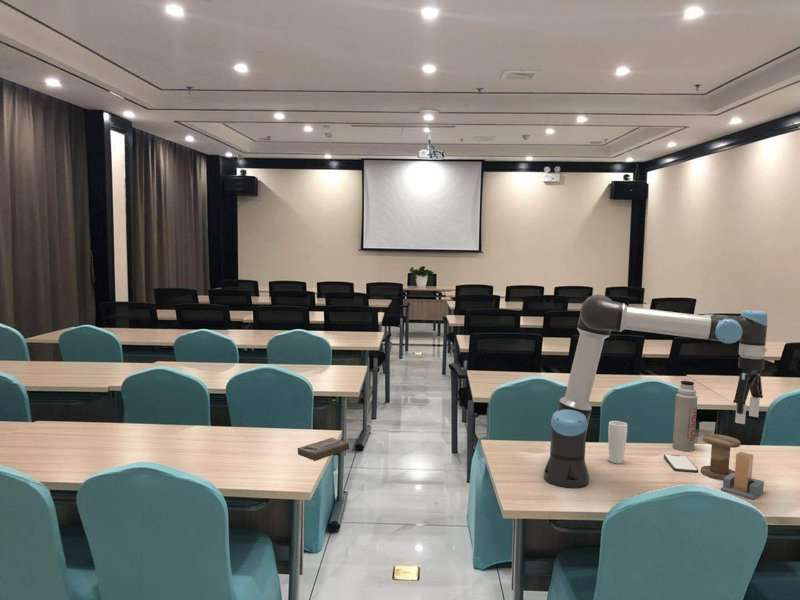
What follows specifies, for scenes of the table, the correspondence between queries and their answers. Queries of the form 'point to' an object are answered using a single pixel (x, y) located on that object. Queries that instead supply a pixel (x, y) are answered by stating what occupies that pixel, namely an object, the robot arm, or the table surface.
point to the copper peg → (743, 471)
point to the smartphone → (680, 463)
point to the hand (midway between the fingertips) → (746, 419)
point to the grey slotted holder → (753, 492)
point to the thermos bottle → (685, 417)
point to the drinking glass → (617, 441)
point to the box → (323, 449)
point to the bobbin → (719, 455)
